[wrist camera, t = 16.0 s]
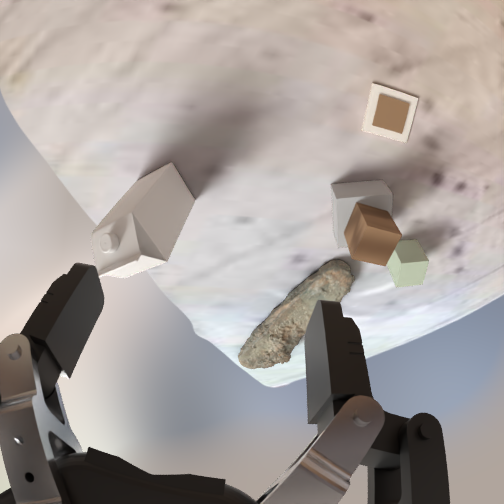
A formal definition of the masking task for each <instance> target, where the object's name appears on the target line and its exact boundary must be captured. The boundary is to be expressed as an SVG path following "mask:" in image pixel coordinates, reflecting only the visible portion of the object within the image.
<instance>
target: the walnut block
mask: <svg viewBox="0 0 504 504" xmlns="http://www.w3.org/2000/svg"><path fill="white" fill-rule="evenodd" d="M344 236H345V239H346V242H347V245H348V248H349V251H350V254H351V257H352V259H354V260H359V261H364V262H368V263H373V264H377V265H382V266H386V264H387V263H388V261H389V259H390V257H391V255H392V253H393V251H394V250H395V248H396V246H397V244H398V242H399V240H400V238H401V236H402V234H401V232H400V231H399V229H398V227H397V226H396V224H395V222H394V221H393V219H392V217H391V216H390V214H389V212H388V211H386V210H382V209H379V208H375V207H372V206H368V205H365V204H361V203H358V202H356V204H355V206H354V209H353V211H352V214H351V216H350V219H349V221H348V223H347V226H346V228H345V230H344Z"/></svg>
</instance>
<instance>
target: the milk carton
mask: <svg viewBox="0 0 504 504" xmlns="http://www.w3.org/2000/svg"><path fill="white" fill-rule="evenodd" d="M194 203H195V199H194V198H193V196H192V194H191V193H190V191H189V189H188V188H187V186H186V184H185V183H184V181H183V179H182V178H181V176H180V174H179V173H178V171H177V169H176V168H175V166H174V164H173V163H172V162H171V163H169V164H167V165H165V166H163V167H161V168H159V169H157V170H156V171H154V172H152V173H150V174H148V175H147V176H145V177H143V178H141V179H139V180H138V181H136V182H135V183H134V184H133V186H132V187H131V188H130V189H129V190H128V191H127V192H126V193H125V194H124V195H123V197H122V198H121V199H120V200H119V201H118V202H117V203H116V205H115V206H114V207H113V208H112V209H111V210H110V212H109V213H108V214H107V215H106V216H105V218H104V219H103V220H102V221H101V222H100V224H99V225H98V226H97V227H96V229H95V230H94V231H93V232H92V234H91V235H90V238H91V244H92V250H93V256H94V262H95V267H96V268H97V272H98V275H99V278H100V277H102V276H105V275H108V276H113V277H120V278H127V277H129V276H132V275H134V274H137V273H140V272H142V271H145V270H147V269H150V268H153V267H155V266H158V265H161V264H163V263H166V262H168V259H169V257H170V254H171V252H172V250H173V248H174V245H175V243H176V241H177V239H178V237H179V235H180V232H181V230H182V228H183V226H184V224H185V222H186V219H187V217H188V215H189V213H190V211H191V209H192V207H193V205H194Z"/></svg>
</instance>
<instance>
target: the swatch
mask: <svg viewBox="0 0 504 504" xmlns="http://www.w3.org/2000/svg"><path fill="white" fill-rule="evenodd" d="M417 101H418V98H416V97H413V96H411V95H408V94H405V93H402V92H399V91H396V90H393V89H390V88H387V87H384V86H381V85H377V84H374V83H372V85H371V90H370V94H369V99H368V103H367V108H366V112H365V116H364V121H363V125H362V129H361V131H364V132H368V133H372V134H375V135H379V136H383V137H386V138H390V139H393V140H397V141H400V142H403V143H406V142H407V139H408V136H409V132H410V128H411V125H412V121H413V117H414V113H415V109H416V105H417Z"/></svg>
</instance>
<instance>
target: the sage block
mask: <svg viewBox="0 0 504 504" xmlns="http://www.w3.org/2000/svg"><path fill="white" fill-rule="evenodd" d="M428 263H429V260H428V258H427V256H426V255H425V253H424V251H423V250H422V248H421V246H420V245H419V243H418V241H417V240H416V239H414V240H400V241H399V242H398V244H397V246H396V248H395V250H394V251H393V253H392V255H391V257H390V259H389V261H388V263H387V266H388V269H389V271H390V273H391V276H392V278H393V281H394V283H395V286H396V287H404V286H413V285H422V284H423V281H424V278H425V274H426V270H427V267H428Z"/></svg>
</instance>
